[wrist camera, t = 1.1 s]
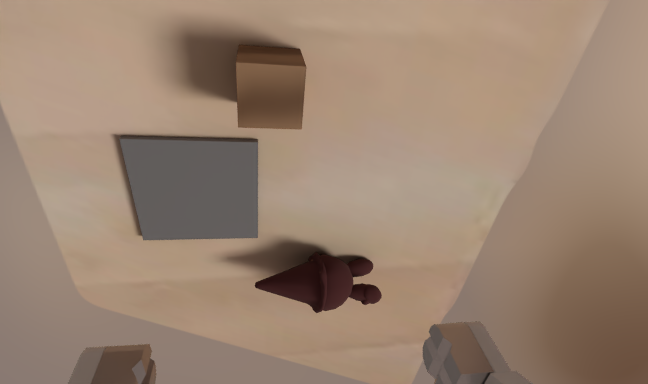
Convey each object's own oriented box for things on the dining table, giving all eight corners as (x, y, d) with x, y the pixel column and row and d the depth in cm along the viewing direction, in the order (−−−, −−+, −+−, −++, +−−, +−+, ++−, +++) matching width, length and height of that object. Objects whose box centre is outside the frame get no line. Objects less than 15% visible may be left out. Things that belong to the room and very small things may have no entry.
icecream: (253, 329, 41) (374, 318, 46) (260, 301, 36) (397, 292, 40) (250, 273, 45) (360, 269, 50) (256, 241, 40) (380, 239, 45)
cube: (239, 44, 30) (235, 62, 26) (299, 48, 31) (306, 66, 27) (240, 103, 33) (238, 127, 29) (296, 105, 33) (301, 129, 29)
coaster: (121, 135, 33) (119, 138, 32) (257, 139, 35) (257, 142, 34) (144, 236, 39) (143, 240, 39) (257, 234, 41) (257, 237, 41)
